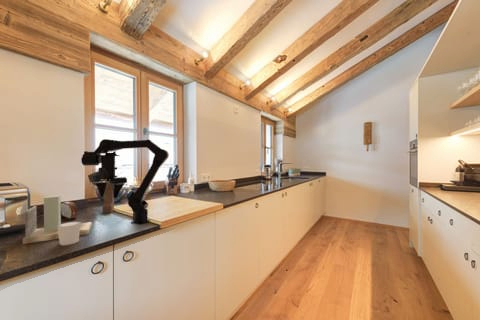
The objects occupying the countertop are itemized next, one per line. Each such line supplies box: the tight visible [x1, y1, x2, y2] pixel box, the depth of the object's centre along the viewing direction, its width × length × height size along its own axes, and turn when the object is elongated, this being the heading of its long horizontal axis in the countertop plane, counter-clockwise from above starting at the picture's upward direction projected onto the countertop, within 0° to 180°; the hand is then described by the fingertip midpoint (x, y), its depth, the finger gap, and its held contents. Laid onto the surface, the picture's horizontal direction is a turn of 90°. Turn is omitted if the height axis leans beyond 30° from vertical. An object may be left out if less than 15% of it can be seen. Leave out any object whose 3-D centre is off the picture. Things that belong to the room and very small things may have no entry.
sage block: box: [43, 194, 62, 232], centre depth 87 cm, size 4×4×14 cm
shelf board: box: [22, 205, 93, 245], centre depth 88 cm, size 20×12×12 cm, turn 121°
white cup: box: [57, 221, 82, 246], centre depth 80 cm, size 7×7×7 cm
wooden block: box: [102, 181, 115, 215], centre depth 124 cm, size 9×4×18 cm, turn 23°
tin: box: [61, 200, 78, 220], centre depth 113 cm, size 15×3×8 cm, turn 58°
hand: (108, 197), depth 101 cm, fingers open, 9 cm apart
